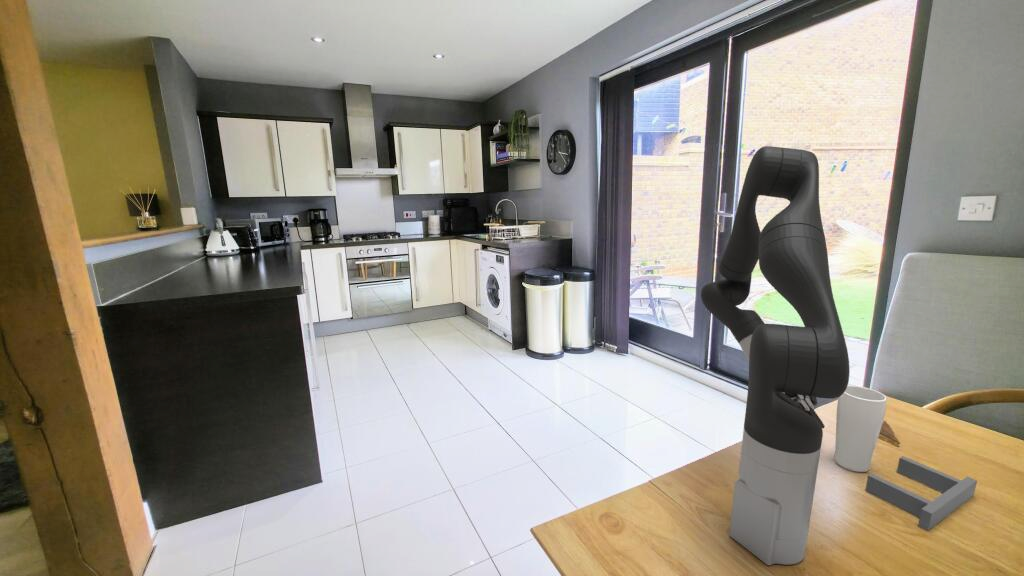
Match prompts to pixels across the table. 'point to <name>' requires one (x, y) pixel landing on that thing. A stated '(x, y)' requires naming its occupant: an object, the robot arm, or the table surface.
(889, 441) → the shard
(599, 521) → the table surface
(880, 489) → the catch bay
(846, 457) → the white cup
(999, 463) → the table surface
